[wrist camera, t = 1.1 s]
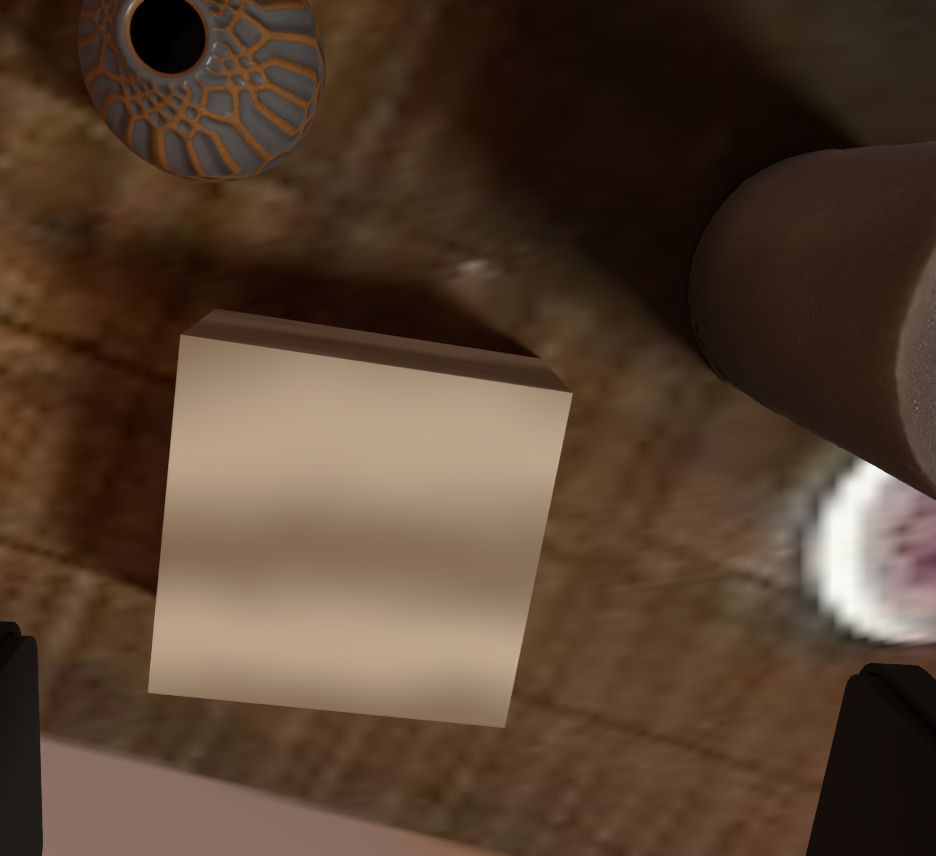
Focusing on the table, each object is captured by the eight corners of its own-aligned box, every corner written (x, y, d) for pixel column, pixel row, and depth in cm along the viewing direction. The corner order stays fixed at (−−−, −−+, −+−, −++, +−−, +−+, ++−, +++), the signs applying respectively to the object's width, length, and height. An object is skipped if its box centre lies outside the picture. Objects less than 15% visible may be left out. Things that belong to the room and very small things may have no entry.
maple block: (216, 307, 32) (180, 334, 26) (540, 357, 34) (572, 392, 28) (186, 609, 35) (148, 692, 29) (485, 642, 37) (504, 727, 31)
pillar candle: (680, 412, 35) (900, 578, 20) (693, 148, 32) (957, 121, 18) (918, 402, 35) (1292, 554, 21) (951, 144, 33) (1402, 117, 18)
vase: (357, 9, 30) (347, -60, 21) (298, 210, 31) (266, 220, 23) (150, -72, 29) (53, -179, 20) (99, 141, 30) (-12, 125, 22)
